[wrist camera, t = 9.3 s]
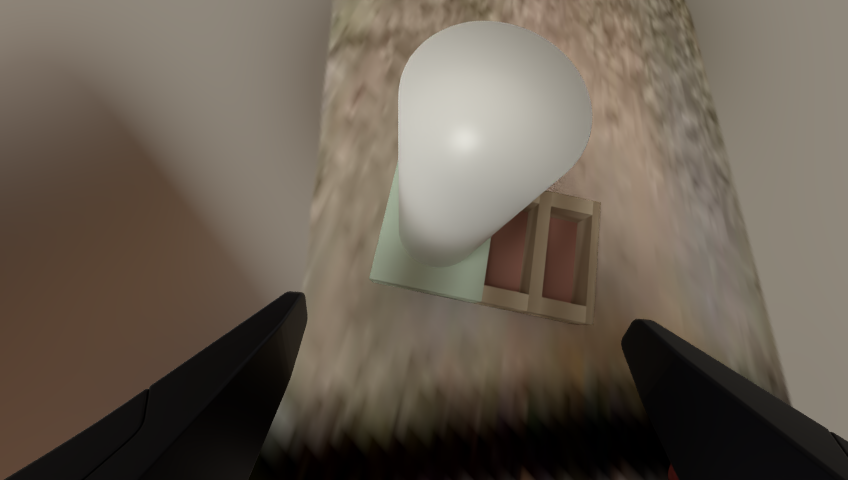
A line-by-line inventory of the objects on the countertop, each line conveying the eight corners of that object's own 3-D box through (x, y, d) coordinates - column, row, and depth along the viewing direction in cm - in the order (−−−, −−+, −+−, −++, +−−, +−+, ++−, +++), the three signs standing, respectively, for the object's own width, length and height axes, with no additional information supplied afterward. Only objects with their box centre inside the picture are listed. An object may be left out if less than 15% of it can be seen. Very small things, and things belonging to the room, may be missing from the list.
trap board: (583, 212, 23) (600, 202, 21) (575, 324, 21) (593, 324, 19) (398, 172, 23) (398, 158, 21) (372, 282, 21) (369, 278, 19)
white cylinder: (457, 282, 19) (549, 230, 7) (383, 243, 19) (360, 132, 7) (491, 212, 20) (617, 73, 8) (421, 177, 20) (452, -8, 9)
